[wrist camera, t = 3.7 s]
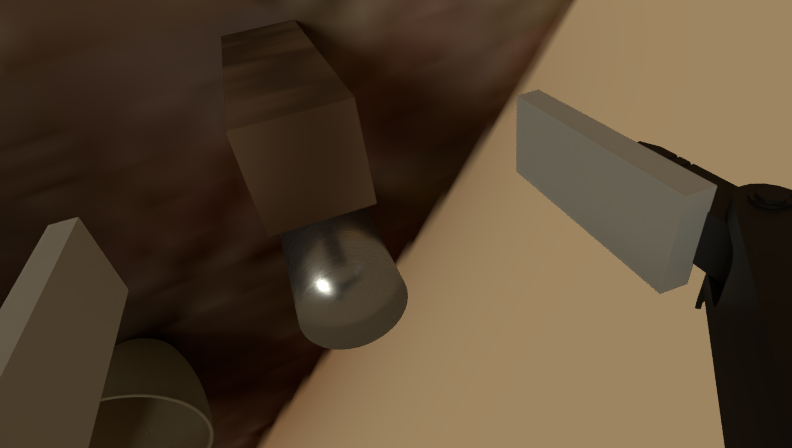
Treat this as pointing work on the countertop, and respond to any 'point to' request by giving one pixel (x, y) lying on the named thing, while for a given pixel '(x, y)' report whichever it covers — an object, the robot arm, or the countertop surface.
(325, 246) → the round bit
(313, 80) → the wooden square peg
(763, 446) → the robot arm
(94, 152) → the countertop surface
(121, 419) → the flower pot
